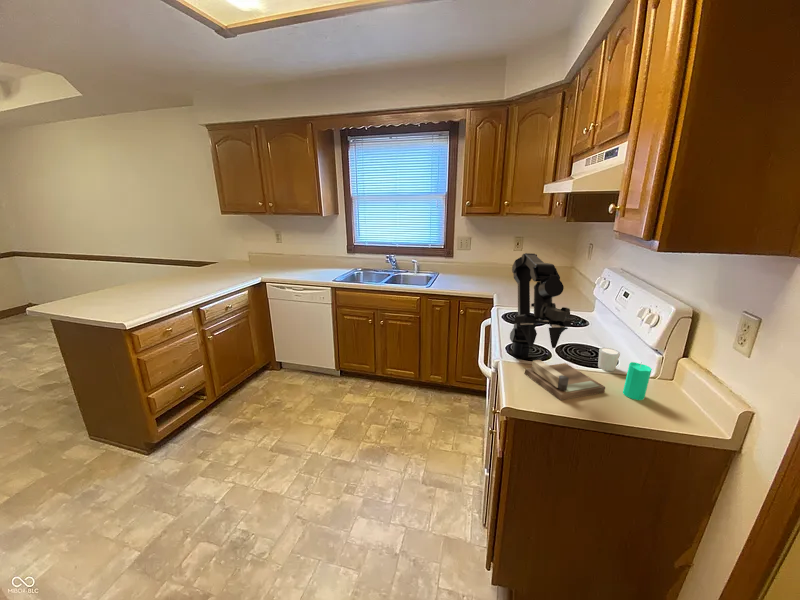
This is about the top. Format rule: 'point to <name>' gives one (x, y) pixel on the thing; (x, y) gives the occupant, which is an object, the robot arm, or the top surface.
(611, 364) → the white mug
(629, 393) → the candle
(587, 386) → the stool seat
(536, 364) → the hinged leg
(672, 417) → the top surface
